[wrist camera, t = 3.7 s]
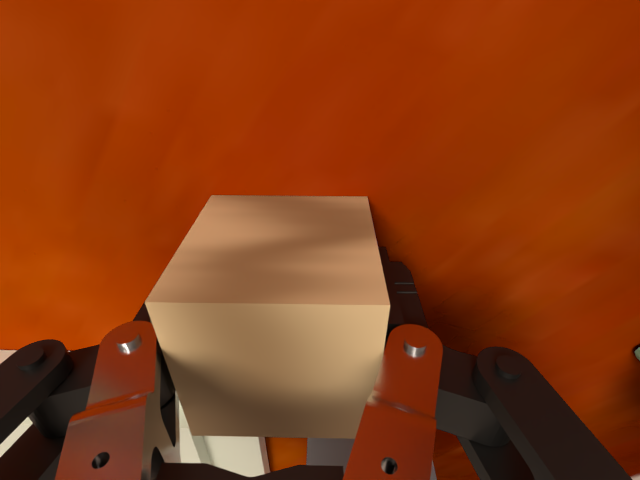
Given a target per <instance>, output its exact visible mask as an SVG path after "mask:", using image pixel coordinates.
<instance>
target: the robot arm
mask: <svg viewBox="0 0 640 480" xmlns="http://www.w3.org/2000/svg"><path fill="white" fill-rule="evenodd" d="M378 250H379V254H380V259H381V264H382V268H383V273H384V278H385V283H386V287H387V292H388V297H389V301H390V311H389V318H388V325H387V332H386V339H385V346H384V353H383V357H382V361H381V364H380V367H379V371H378V374H377V378H376V381H375V384H374V388H373V391H372V394H371V396H369V397H368V399H367V402H366V405H365V408H364V411H363V414H362V418H361V421H360V424H359V428H358V431H357V434H356V437H355V441H354V444H353V447H352V450H351V454H350V457H349V460H348V464H347V467H346V470H345V473H344V471H343V466H324V465H297V466H293V467H289V468H285V469H282V470H278V471H274V472H270V473H266V474H263V475H259V476H255V477H247V476H243V475H240V474H237V473H234V472H231V471H228V470H225V469H222V468H219V467H216V466H213V465H210V464H207V463H181V457H180V427H179V398H178V395H177V392H176V389H175V386H174V383H173V381H172V378H171V375H170V372H169V369H168V367H167V364H166V361H165V358H164V355H163V353H162V350H161V347H160V344H159V341H158V338H157V336H156V333H155V330H154V327H153V324H152V322H151V319H150V316H149V313H148V310H147V307H146V305H145V302H144V304H143V305H142V307H141V309H140V310H139V312H138V313H137V315H136V317H135V318H134V320H133V321H132V322H128V323H125V324H122V325H120V326H118V327H116V328H115V329H113V330H112V331H110V332H109V333H108V334H107V335H106V336H105V337H104V338H103V340H102V341H101V343H100V344H99V345H96V346H91V347H87V348H83V349H78V350H74V351H70V352H68V351H67V349H66V347H65V346H64V344H63V343H62V342H60V341H58V340H53V339H51V340H41V341H37V342H34V343H31V344H29V345H27V346H25V347H23V348H21V349H19V350H18V351H16V352H15V353H13V354H12V355H11V356H9V357H8V358H7V359H6V360H5V361H3V362H2V363H1V364H0V444H1V443H2V442H3V441H4V440H5V439H6V438H7V437H8V436H9V435H10V434H11V433H12V432H13V431H14V430H15V429H16V428H17V427H18V426H19V425H20V424H21V423H22V422H23V421H24V420H25V419H26V418H27V417H29V419H30V420H31V421H32V423H33V424H32V425H31V426H30V427H29V428H28V429H27V430H26V431H25V432H24V433H23V434H22V435H21V436H20V437H19V438H18V439H17V440H16V441H15V442H14V444H13V445H12V446H11V447H10V448H9V449H8V450H7V451H6V452H5V453H4V454H3V455H2V456H1V457H0V480H430V476H431V467H432V459H433V451H434V442H435V434H436V428H437V429H439V430H442V431H445V432H448V433H451V434H454V435H457V438H458V439H459V441H460V443H461V445H462V447H463V449H464V451H465V452H466V454H467V456H468V458H469V460H470V462H471V463H472V465H473V467H474V469H475V471H476V473H477V475H478V476H479V478H480V480H632V479H631V478H630V476H629V475H628V474H627V473H626V472H625V471H624V469H623V468H622V467H621V466H620V465H619V464H618V462H617V461H616V460H615V459H614V458H613V457H612V456H611V454H610V453H609V452H608V451H607V450H606V449H605V447H604V446H603V445H602V444H601V443H600V442H599V441H598V439H597V438H596V437H595V436H594V435H593V434H592V432H591V431H590V430H589V429H588V428H587V427H586V426H585V424H584V423H583V422H582V421H581V420H580V419H579V417H578V416H577V415H576V414H575V413H574V412H573V411H572V409H571V408H570V407H569V406H568V405H567V404H566V402H565V401H564V400H563V399H562V398H561V397H560V395H559V394H558V393H557V392H556V391H555V390H554V389H553V387H552V386H551V385H550V384H549V383H548V382H547V380H546V379H545V378H544V377H543V376H542V375H541V374H540V372H539V371H538V370H537V369H536V368H535V367H534V365H533V364H532V363H531V362H530V361H529V360H528V359H526V358H525V357H524V356H522V355H521V354H519V353H517V352H515V351H513V350H511V349H508V348H504V347H489V348H486V349H484V350H482V351H481V352H480V353H479V355H478V357H477V356H473V355H470V354H466V353H462V352H459V351H456V350H452V349H450V348H448V347H446V346H444V345H443V344H442V343H441V341H440V339H439V338H438V337H437V335H436V334H435V333H433V332H432V331H431V330H429V328H428V326H427V322H426V319H425V316H424V313H423V310H422V307H421V303H420V300H419V297H418V294H417V291H416V288H415V285H414V281H413V278H412V275H411V272H410V271H409V270H408V269H407V267H406V266H405V265H404V264H403V263H402V262H389V258H388V254H387V250H386V247H378ZM162 274H163V273H162ZM157 282H158V281H157ZM147 298H148V297H147Z"/></svg>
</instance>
